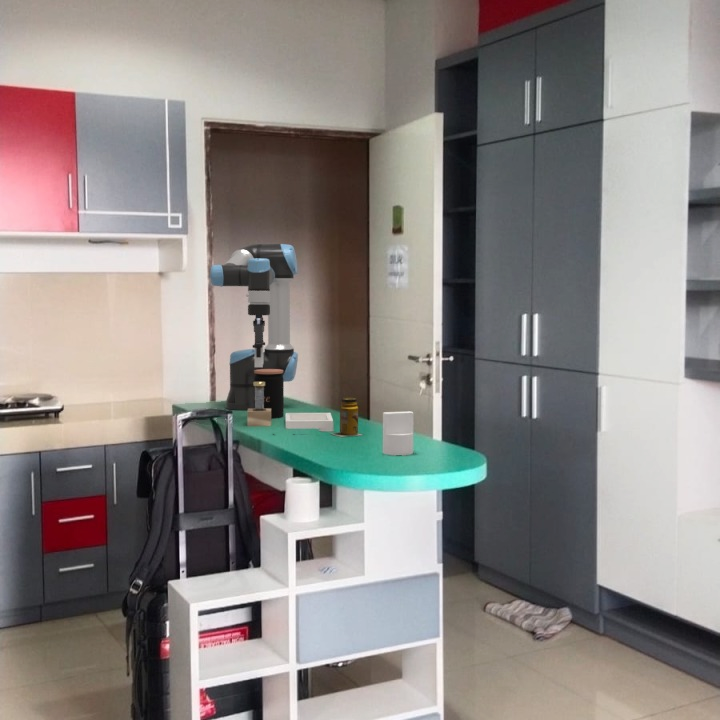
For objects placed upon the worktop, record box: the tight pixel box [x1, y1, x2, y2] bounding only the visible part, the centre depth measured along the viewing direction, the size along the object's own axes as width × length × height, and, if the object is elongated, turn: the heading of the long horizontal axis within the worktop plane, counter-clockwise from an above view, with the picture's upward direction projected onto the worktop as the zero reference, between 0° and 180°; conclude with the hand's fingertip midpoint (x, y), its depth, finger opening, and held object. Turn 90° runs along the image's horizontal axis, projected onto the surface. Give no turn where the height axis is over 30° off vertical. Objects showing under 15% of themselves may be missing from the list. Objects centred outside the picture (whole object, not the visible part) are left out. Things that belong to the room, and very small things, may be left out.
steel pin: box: [253, 381, 265, 411], centre depth 328 cm, size 4×4×15 cm
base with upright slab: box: [382, 410, 414, 456], centre depth 281 cm, size 9×9×12 cm
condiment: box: [330, 397, 363, 438], centre depth 314 cm, size 7×8×12 cm
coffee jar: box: [254, 369, 285, 420], centre depth 347 cm, size 11×11×18 cm
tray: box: [284, 412, 334, 432], centre depth 330 cm, size 20×16×4 cm
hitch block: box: [246, 408, 272, 427], centre depth 328 cm, size 8×8×6 cm
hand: (259, 365), depth 327 cm, fingers open, 13 cm apart
